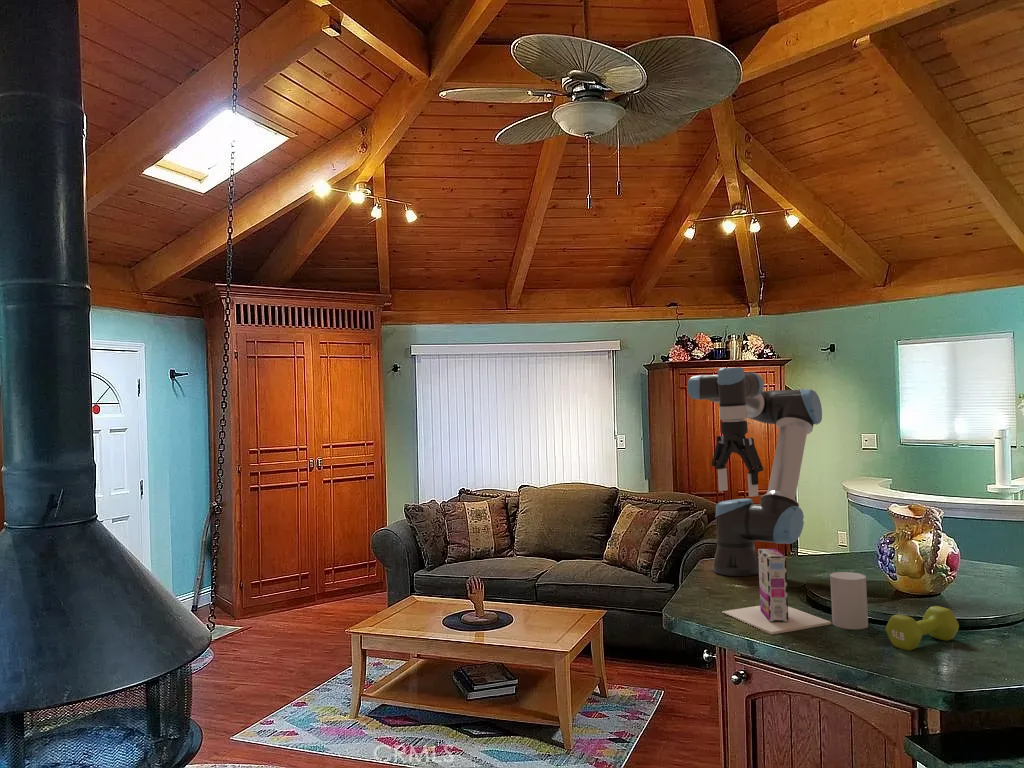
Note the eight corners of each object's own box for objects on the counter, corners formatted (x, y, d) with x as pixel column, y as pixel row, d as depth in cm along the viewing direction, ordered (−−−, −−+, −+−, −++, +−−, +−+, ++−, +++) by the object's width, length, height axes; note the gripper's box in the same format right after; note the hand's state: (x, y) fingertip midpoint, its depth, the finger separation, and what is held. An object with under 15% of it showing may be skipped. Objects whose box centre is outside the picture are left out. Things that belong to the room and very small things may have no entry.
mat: (778, 604, 210) (778, 602, 210) (831, 624, 191) (831, 621, 191) (722, 613, 204) (722, 611, 204) (771, 634, 185) (771, 632, 185)
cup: (873, 623, 191) (870, 574, 191) (861, 631, 185) (859, 581, 185) (839, 617, 197) (837, 570, 197) (827, 625, 191) (825, 576, 191)
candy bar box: (790, 622, 192) (787, 556, 192) (769, 622, 193) (766, 557, 193) (779, 610, 203) (776, 547, 204) (759, 610, 204) (756, 548, 204)
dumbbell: (913, 655, 168) (912, 621, 168) (882, 644, 175) (881, 613, 176) (963, 642, 175) (962, 610, 175) (931, 632, 182) (930, 602, 182)
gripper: (773, 420, 214) (778, 496, 214) (717, 418, 237) (721, 487, 237) (751, 422, 211) (756, 500, 211) (697, 420, 234) (701, 489, 234)
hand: (738, 493), depth 224 cm, fingers open, 13 cm apart
